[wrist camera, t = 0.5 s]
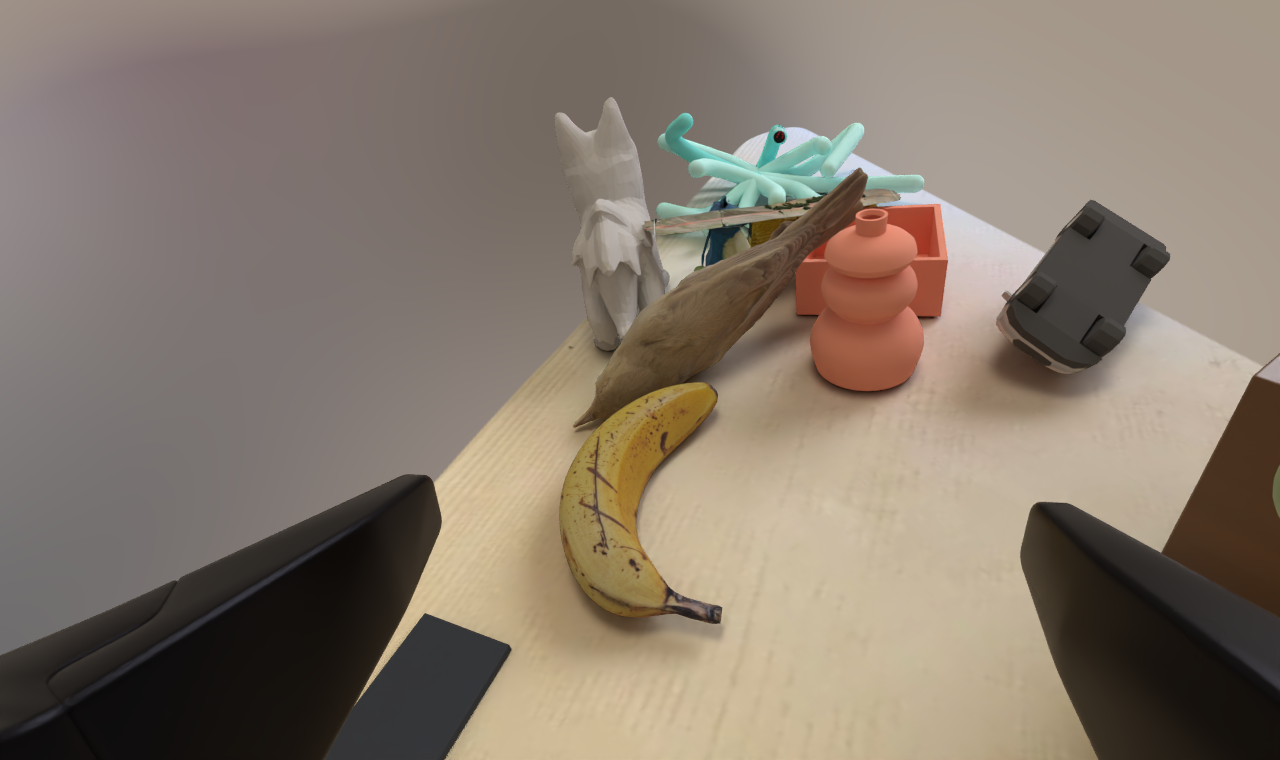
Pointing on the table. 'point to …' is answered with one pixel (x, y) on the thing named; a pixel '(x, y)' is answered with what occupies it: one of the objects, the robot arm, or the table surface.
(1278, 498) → the green pink knobbed rod
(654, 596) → the fruit
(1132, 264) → the toy car
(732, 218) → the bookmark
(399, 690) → the placemat
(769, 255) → the sculpture
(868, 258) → the pottery
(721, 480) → the table surface
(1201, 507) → the block
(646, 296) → the toy
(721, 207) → the toy figurine
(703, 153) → the tentacled creature figurine
